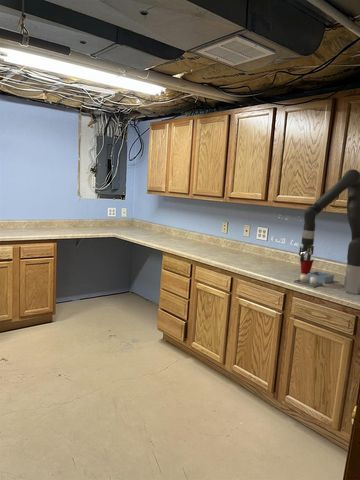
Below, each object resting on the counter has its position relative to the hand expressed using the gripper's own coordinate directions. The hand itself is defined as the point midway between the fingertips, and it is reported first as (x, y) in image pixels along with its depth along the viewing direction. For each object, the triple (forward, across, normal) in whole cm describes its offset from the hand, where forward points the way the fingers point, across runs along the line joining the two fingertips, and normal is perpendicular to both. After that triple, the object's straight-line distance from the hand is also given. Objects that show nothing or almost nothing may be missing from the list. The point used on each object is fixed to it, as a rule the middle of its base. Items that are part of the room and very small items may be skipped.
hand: (305, 261), depth 239 cm
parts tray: (+14, 0, -4) cm, 15 cm away
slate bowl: (+14, +17, -4) cm, 23 cm away
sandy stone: (+14, 0, 0) cm, 14 cm away
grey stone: (+14, 0, -7) cm, 16 cm away
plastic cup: (+15, +28, +13) cm, 34 cm away
